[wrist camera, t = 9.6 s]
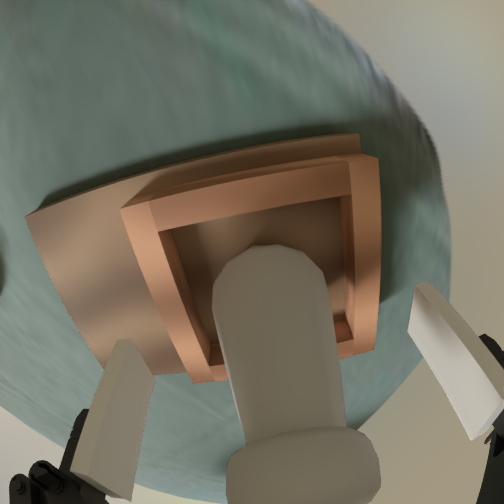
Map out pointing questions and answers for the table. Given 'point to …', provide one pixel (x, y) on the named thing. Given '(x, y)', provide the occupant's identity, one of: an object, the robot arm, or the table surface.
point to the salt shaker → (287, 385)
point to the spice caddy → (213, 245)
